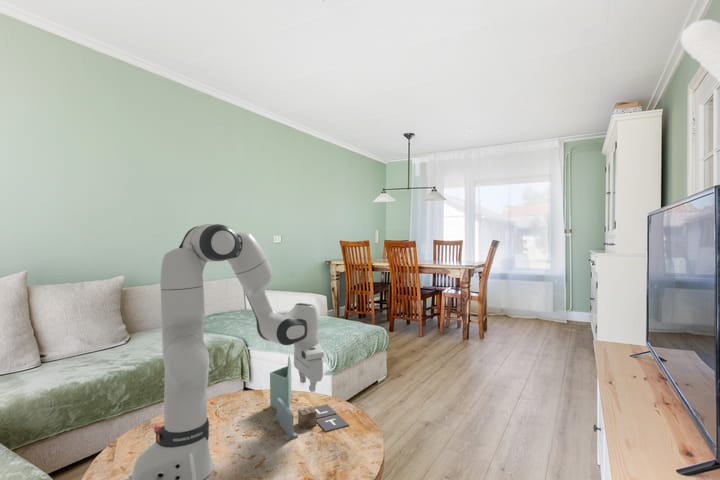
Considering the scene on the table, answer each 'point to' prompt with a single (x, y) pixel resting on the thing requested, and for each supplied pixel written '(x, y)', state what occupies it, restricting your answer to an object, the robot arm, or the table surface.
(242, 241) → the robot arm
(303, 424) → the cube
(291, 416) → the screen
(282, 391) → the planter
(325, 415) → the pad
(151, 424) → the table surface
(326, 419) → the pad
